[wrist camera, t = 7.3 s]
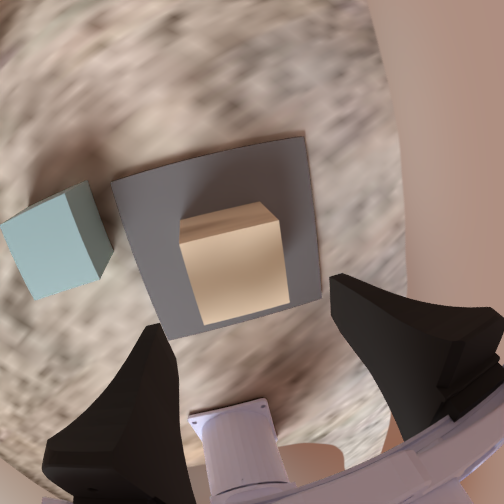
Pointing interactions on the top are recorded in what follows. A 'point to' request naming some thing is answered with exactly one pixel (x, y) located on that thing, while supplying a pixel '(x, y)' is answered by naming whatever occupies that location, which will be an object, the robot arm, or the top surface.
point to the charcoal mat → (210, 200)
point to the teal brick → (59, 242)
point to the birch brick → (234, 261)
